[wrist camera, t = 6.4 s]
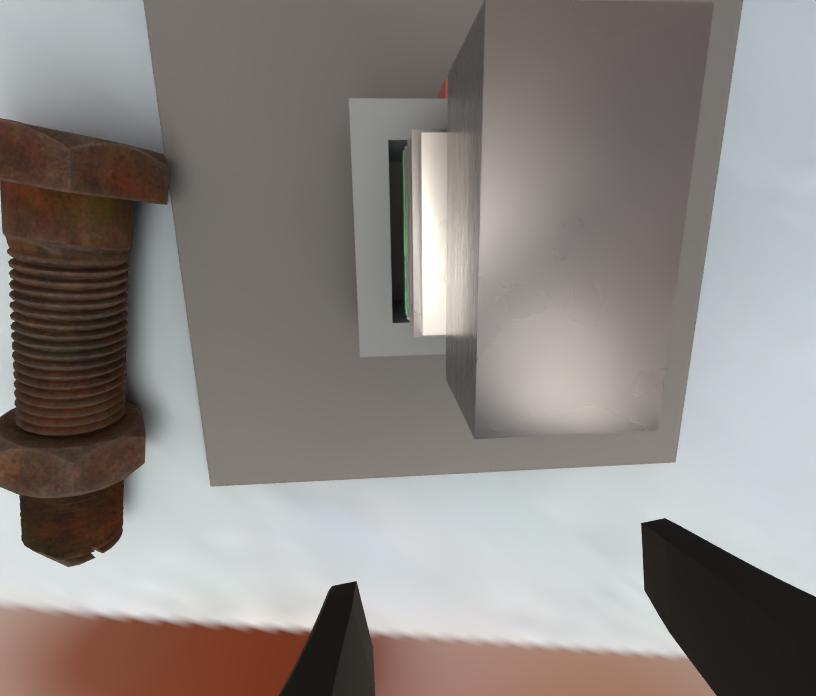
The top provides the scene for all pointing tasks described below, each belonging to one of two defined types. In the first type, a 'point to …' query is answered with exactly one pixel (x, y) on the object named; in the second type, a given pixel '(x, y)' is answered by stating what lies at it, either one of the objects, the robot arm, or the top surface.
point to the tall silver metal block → (557, 212)
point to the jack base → (349, 238)
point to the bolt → (71, 333)
